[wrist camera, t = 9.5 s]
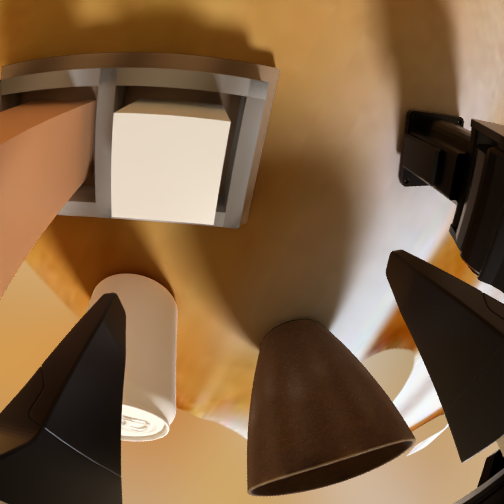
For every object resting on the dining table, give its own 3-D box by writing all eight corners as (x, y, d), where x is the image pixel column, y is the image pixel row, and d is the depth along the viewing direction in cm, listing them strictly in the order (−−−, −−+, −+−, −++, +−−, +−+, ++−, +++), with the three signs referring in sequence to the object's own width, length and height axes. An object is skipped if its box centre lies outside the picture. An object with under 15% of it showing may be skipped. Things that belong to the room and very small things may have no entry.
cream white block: (222, 105, 17) (230, 121, 12) (210, 179, 19) (213, 224, 14) (141, 98, 15) (113, 112, 11) (135, 173, 18) (111, 216, 13)
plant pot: (375, 330, 34) (429, 442, 21) (281, 388, 38) (308, 494, 25) (312, 266, 26) (387, 434, 13) (198, 348, 31) (209, 495, 18)
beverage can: (111, 253, 23) (71, 381, 13) (194, 293, 26) (198, 420, 16) (83, 311, 26) (55, 421, 16) (155, 341, 29) (150, 449, 20)
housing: (276, 68, 17) (291, 69, 14) (244, 216, 23) (251, 243, 20) (10, 65, 12) (-19, 69, 9) (15, 200, 18) (-8, 223, 15)
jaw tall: (96, 100, 15) (-50, 176, 4) (91, 173, 17) (-10, 316, 7) (32, 100, 14) (-118, 179, 3) (31, 169, 16) (-84, 292, 6)
